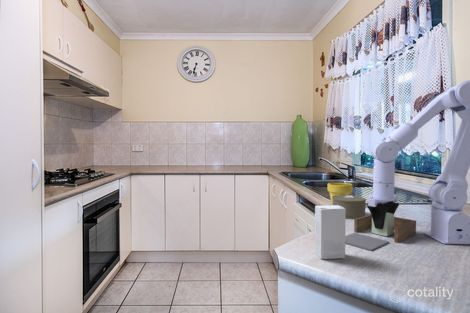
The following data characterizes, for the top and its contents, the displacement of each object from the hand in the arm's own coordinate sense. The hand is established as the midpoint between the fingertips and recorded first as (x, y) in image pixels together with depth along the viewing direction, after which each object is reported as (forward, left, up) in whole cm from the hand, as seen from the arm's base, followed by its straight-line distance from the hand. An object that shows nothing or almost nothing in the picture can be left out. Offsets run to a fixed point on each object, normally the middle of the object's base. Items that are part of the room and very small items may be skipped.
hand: (382, 227), depth 88 cm
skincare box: (-19, +21, -2) cm, 28 cm away
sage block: (0, 0, -2) cm, 2 cm away
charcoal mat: (-8, +9, -2) cm, 12 cm away
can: (+23, +3, -2) cm, 23 cm away
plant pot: (+41, +1, -2) cm, 40 cm away
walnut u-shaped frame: (+1, -1, -2) cm, 2 cm away
